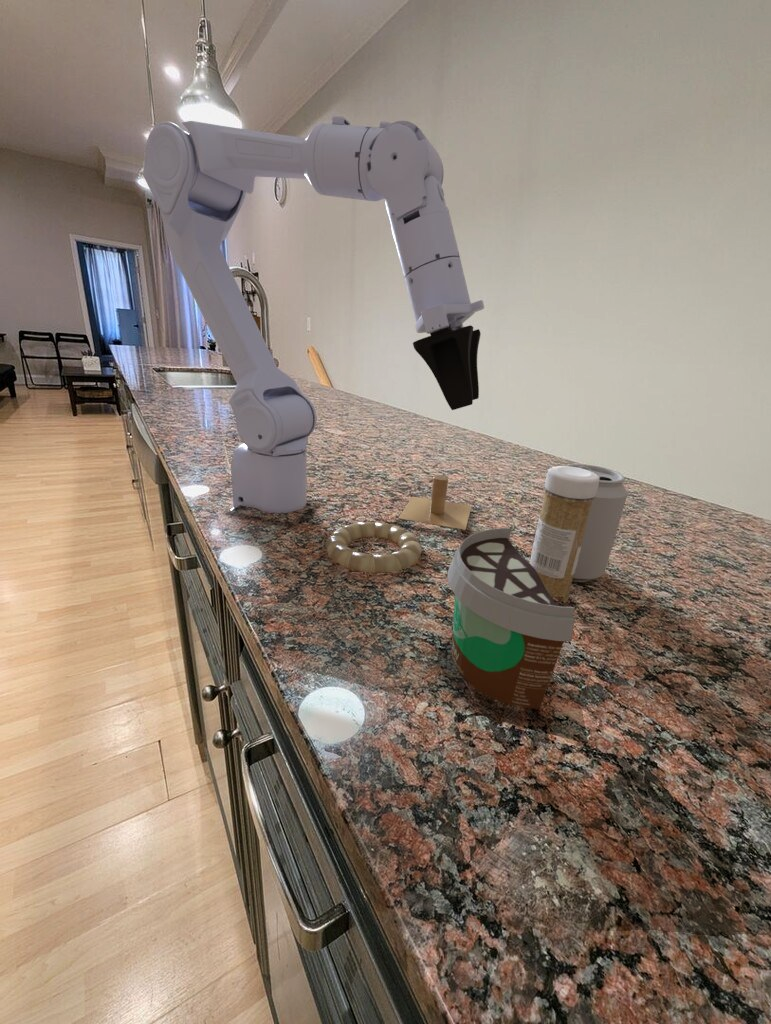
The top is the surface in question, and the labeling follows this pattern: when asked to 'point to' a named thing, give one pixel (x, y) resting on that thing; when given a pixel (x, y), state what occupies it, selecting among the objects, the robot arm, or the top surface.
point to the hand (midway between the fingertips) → (466, 403)
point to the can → (600, 523)
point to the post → (437, 508)
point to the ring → (373, 563)
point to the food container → (504, 621)
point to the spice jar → (562, 526)
